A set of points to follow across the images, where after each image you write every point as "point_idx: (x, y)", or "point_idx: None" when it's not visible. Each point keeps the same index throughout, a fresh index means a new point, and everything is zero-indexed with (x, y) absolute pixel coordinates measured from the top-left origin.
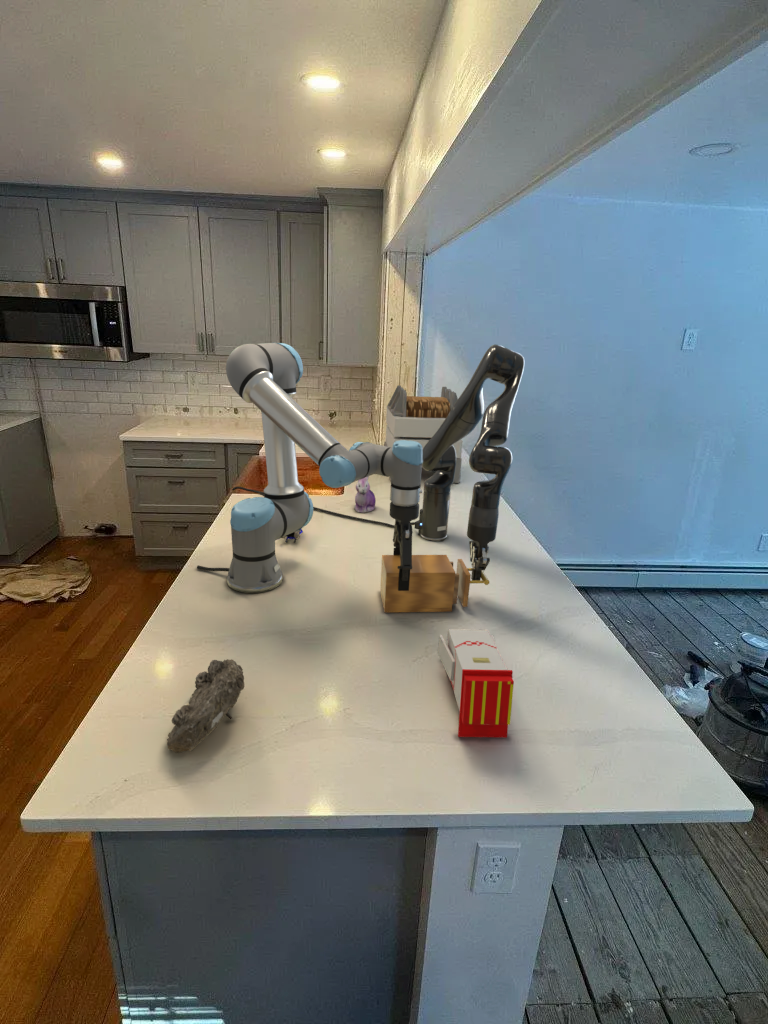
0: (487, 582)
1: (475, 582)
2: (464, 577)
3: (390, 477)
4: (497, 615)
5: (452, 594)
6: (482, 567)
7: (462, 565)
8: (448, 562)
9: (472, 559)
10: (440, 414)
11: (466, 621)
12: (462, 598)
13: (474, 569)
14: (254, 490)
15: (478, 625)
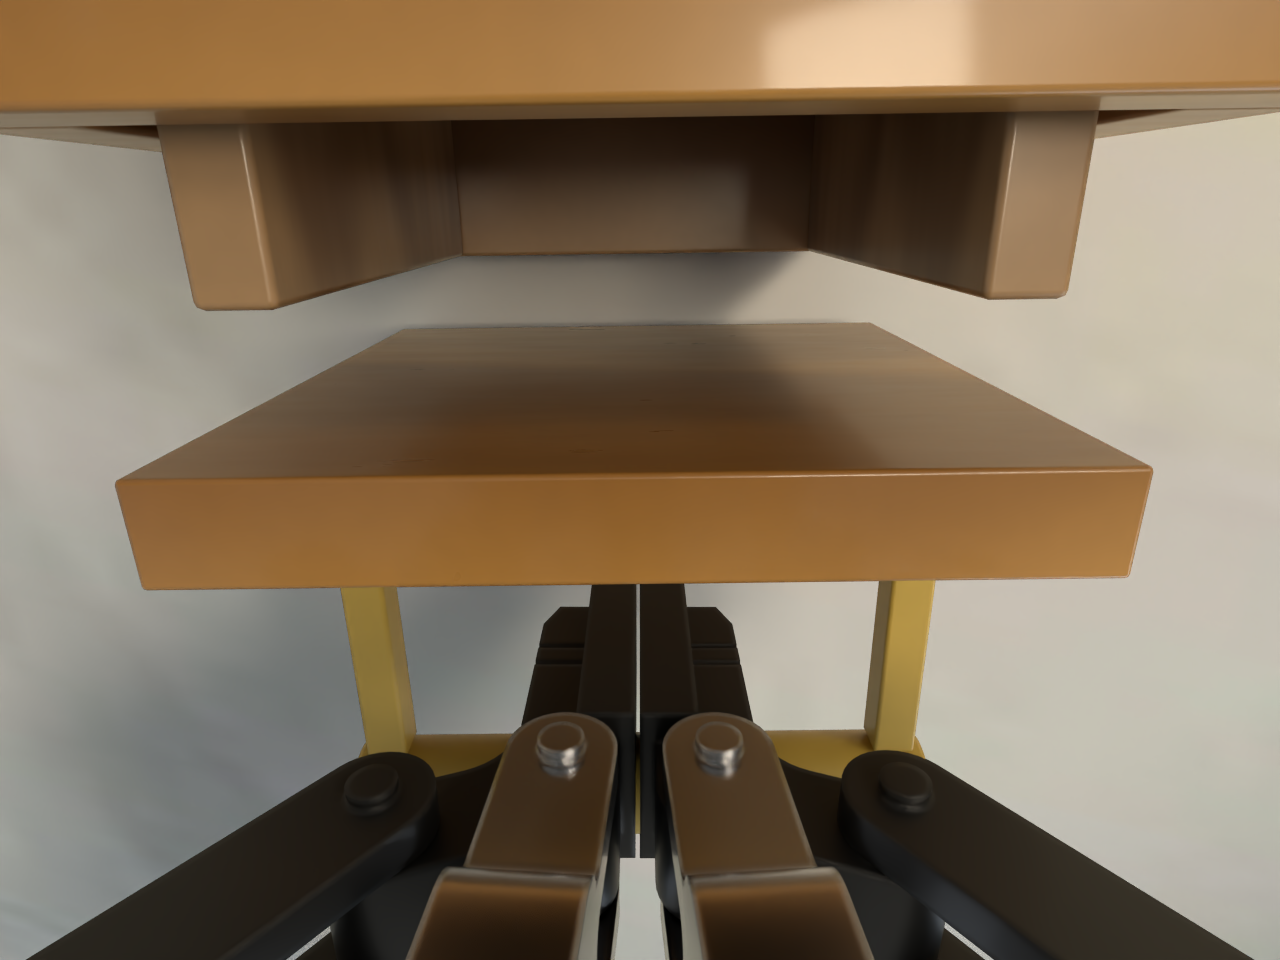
0: None
1: (354, 611)
2: (321, 435)
3: None
4: (345, 655)
5: None
6: (340, 954)
7: (705, 507)
8: (693, 5)
9: (589, 883)
10: None
11: (165, 310)
12: (439, 342)
13: (527, 734)
14: None
15: (104, 424)
